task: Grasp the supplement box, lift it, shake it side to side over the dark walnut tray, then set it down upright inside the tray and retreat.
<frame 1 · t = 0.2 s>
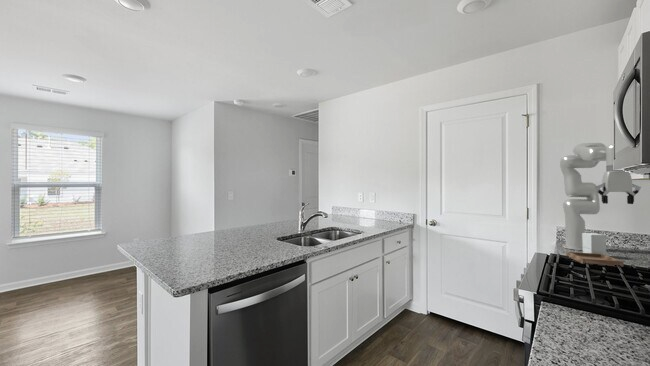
hand: (617, 203, 141), 31 cm above the counter, tool pointing down, fingers open, 9 cm apart
supplement box: (594, 256, 161), on the counter
walnut tray: (592, 261, 149), on the counter
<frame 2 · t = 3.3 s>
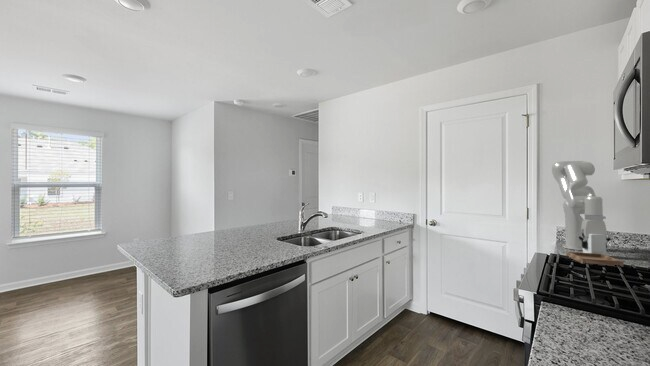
hand: (594, 248, 161), 4 cm above the counter, tool pointing down, fingers closed on supplement box, 8 cm apart
supplement box: (594, 256, 161), on the counter, touching gripper
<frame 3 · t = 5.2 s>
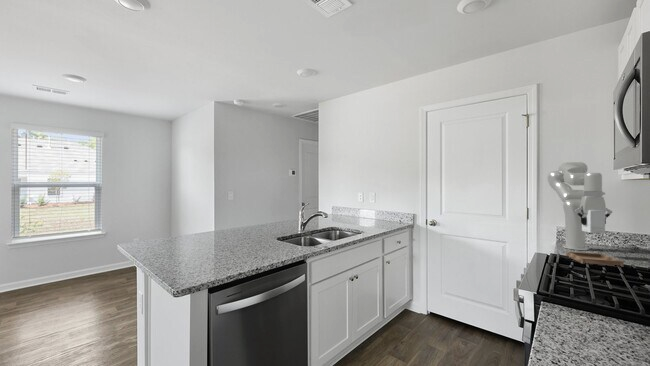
hand: (593, 224, 162), 18 cm above the counter, tool pointing down, fingers closed on supplement box, 8 cm apart
supplement box: (593, 232, 162), point 13 cm above the counter, touching gripper
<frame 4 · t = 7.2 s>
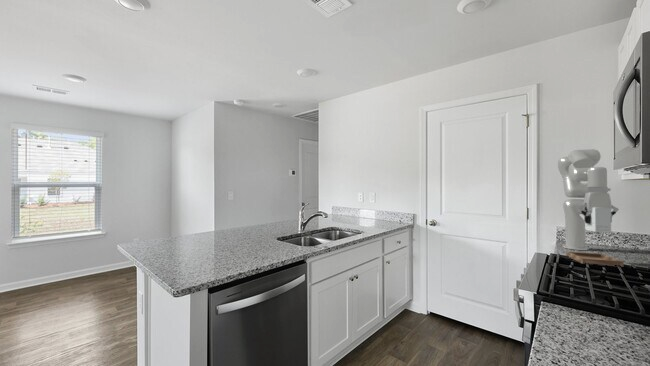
hand: (597, 223, 149), 20 cm above the counter, tool pointing down, fingers closed on supplement box, 8 cm apart
supplement box: (598, 231, 149), point 16 cm above the counter, touching gripper
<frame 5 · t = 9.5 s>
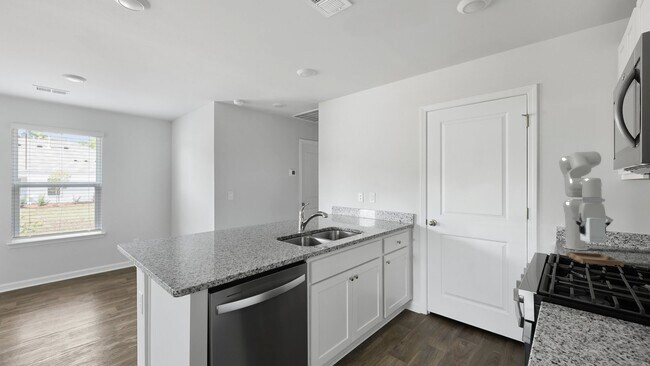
hand: (592, 234, 150), 14 cm above the counter, tool pointing down, fingers closed on supplement box, 8 cm apart
supplement box: (592, 242, 150), point 10 cm above the counter, touching gripper
when the fingers open (7 cm above the counter, at t = 11.4 s): supplement box drops 2 cm, resting on walnut tray.
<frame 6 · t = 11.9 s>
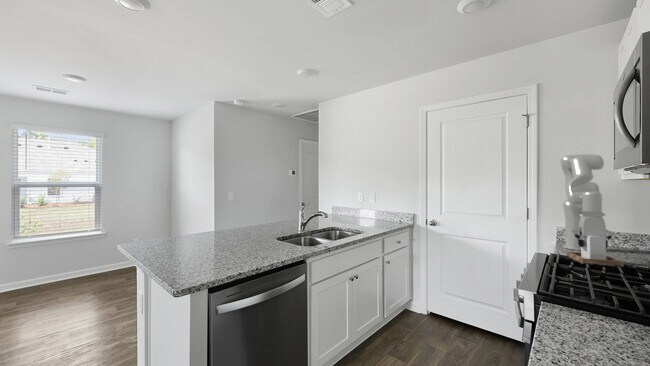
hand: (592, 247, 150), 7 cm above the counter, tool pointing down, fingers open, 9 cm apart
supplement box: (593, 259, 149), point 1 cm above the counter, touching walnut tray
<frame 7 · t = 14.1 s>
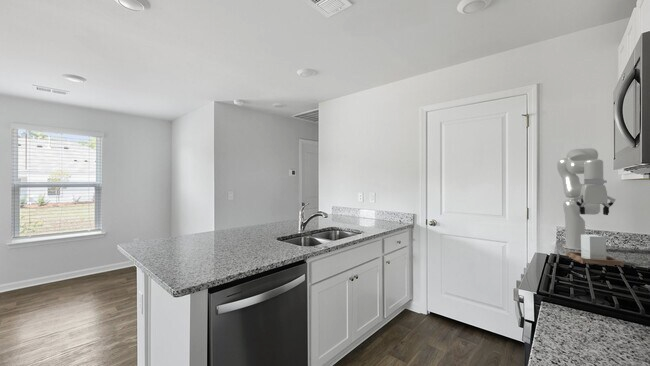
hand: (594, 214, 152), 24 cm above the counter, tool pointing down, fingers open, 9 cm apart
nothing on the counter moved.
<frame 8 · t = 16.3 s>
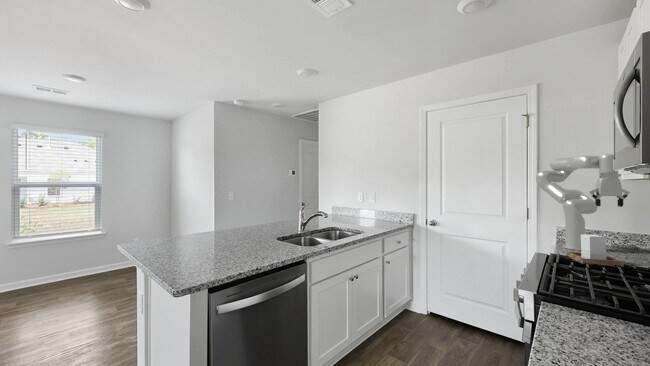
hand: (609, 206, 161), 28 cm above the counter, tool pointing down, fingers open, 9 cm apart
nothing on the counter moved.
at the end: supplement box inside the target area on the walnut tray (0.4 cm from its centre), point 0.6 cm above the walnut tray's base; supplement box tilted 0°; the gripper is holding nothing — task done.
